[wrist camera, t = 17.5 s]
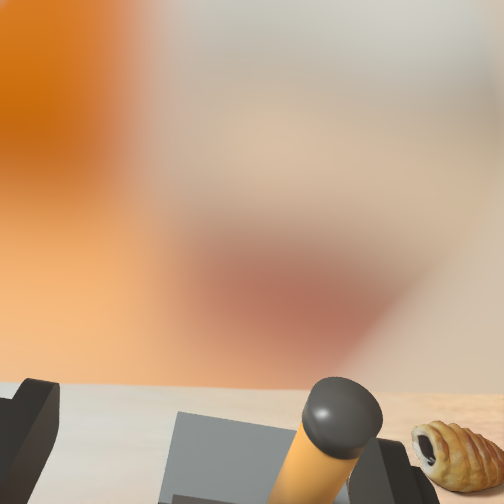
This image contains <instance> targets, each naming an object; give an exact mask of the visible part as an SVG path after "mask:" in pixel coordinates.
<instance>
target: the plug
mask: <svg viewBox="0 0 504 504" xmlns="http://www.w3.org/2000/svg"><path fill="white" fill-rule="evenodd" d="M382 423H383V415H382V411H381V408H380V406H379V404H378V402H377V401H376V399H375V398H374V396H373V395H372V394H371V393H370V392H369V391H368V390H367V389H365V388H364V387H363V386H361V385H360V384H358V383H356V382H354V381H352V380H349V379H346V378H342V377H328V378H324V379H322V380H320V381H319V382H317V383H316V384H315V385H314V387H313V389H312V390H311V393H310V395H309V397H308V400H307V402H306V404H305V407H304V409H303V412H302V421H301V424H300V426H299V428H298V431H297V433H296V435H295V438H294V440H293V442H292V445H291V447H290V449H289V451H288V454H287V456H286V458H285V461H284V463H283V465H282V468H281V470H280V472H279V475H278V477H277V479H276V482H275V484H274V486H273V489H272V491H271V493H270V495H269V498H268V500H267V503H266V504H332V503H333V502H334V500H335V498H336V497H337V495H338V493H339V492H340V490H341V488H342V487H343V485H344V483H345V481H346V480H347V478H348V476H349V475H350V473H351V471H352V470H353V468H354V466H355V465H356V463H357V461H358V459H359V457H360V455H361V454H362V452H363V450H364V448H365V446H366V444H367V442H368V441H369V439H370V438H372V437H375V438H376V436H377V435H378V433H379V431H380V429H381V427H382Z"/></svg>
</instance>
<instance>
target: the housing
mask: <svg viewBox="0 0 504 504" xmlns="http://www.w3.org/2000/svg"><path fill="white" fill-rule="evenodd" d="M171 504H236V503H230V502H223V501H216V500H210V499H203V498H196V497H190V496H183V495H176V494H173V497H172V502H171Z"/></svg>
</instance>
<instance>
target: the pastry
mask: <svg viewBox="0 0 504 504" xmlns="http://www.w3.org/2000/svg"><path fill="white" fill-rule="evenodd" d="M412 441H413V443H412V446H413V449H414V451H415V453H416V454H417V456H418V458H419V459H420V461H421V464H422V468H423V470H424V472H425V474H426V475H427V476H428V477H429V478H430V479H431V480H433V481H434V482H436V483H437V484H438V485H439V486H441V487H443V488H445V489H447V490H450V491H461V492H462V493H464V492H472V491H479V490H482V489H487V488H491V487H495V486H498V485H500V484H501V483H502V482H503V481H504V451H503V450H502V449H500V448H499V447H498V446H497V445H496V444H495V443H493V442H491V441H489V440H487V439H485V438H483V437H482V435H481V434H474V433H473V432H472V431H471V430H470V429H468V428H460V426H458V425H457V424H455V423H452V424H449V425H446V424H444V423H443V422H441V421H433V422H431V423H430V424H427V425H426V424H424V425H420V426H415V427H414V428H413V430H412Z"/></svg>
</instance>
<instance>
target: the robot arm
mask: <svg viewBox="0 0 504 504" xmlns="http://www.w3.org/2000/svg"><path fill="white" fill-rule="evenodd" d="M59 403H60V386H59V383H54V382H49V381H43V380H36V379H30V378H27V379H25V380H24V381H23V382H22V384H21V385H20V387H19V389H18V390H17V392H16V393H15V395H14V397H13V398H12V399H6V398H0V504H27V502H28V500H29V498H30V496H31V494H32V492H33V489H34V487H35V485H36V483H37V481H38V479H39V477H40V474H41V472H42V470H43V468H44V466H45V464H46V461H47V459H48V457H49V455H50V453H51V451H52V448H53V446H54V443H55V440H56V437H57V433H58V428H59ZM349 495H350V502H351V504H440V503H439V500H438V497H437V494H436V491H435V489H434V487H433V485H432V484H431V482H430V481H429V480H428V478H427V477H426V475H425V474H424V473H423V471H422V470H421V468H420V467H416V466H411V465H410V462H409V459H408V456H407V453H406V450H405V447H404V445H403V444H402V443H401V442H399V441H393V440H387V439H381V438H375V437H372V438H370V439H369V441H368V442H367V444H366V446H365V448H364V450H363V452H362V454H361V455H360V457H359V459H358V461H357V463H356V465H355V467H354V469H353V471H352V473H351V476H350V483H349Z"/></svg>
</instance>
